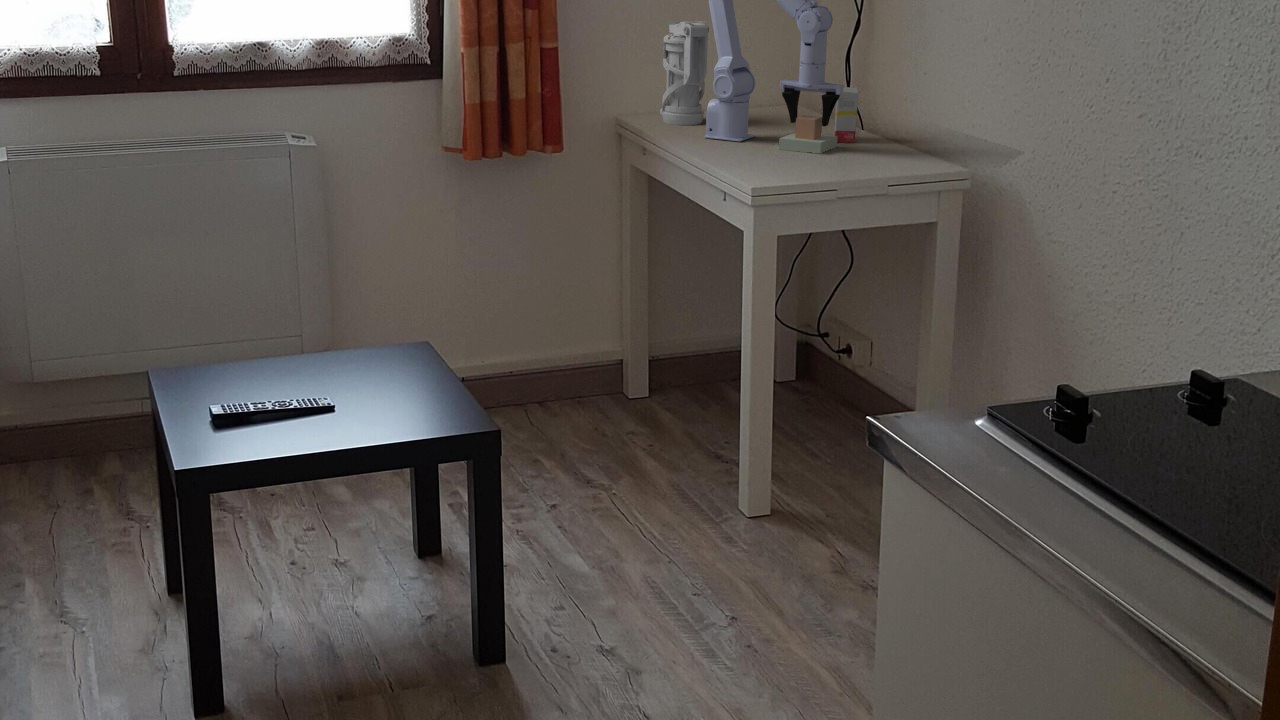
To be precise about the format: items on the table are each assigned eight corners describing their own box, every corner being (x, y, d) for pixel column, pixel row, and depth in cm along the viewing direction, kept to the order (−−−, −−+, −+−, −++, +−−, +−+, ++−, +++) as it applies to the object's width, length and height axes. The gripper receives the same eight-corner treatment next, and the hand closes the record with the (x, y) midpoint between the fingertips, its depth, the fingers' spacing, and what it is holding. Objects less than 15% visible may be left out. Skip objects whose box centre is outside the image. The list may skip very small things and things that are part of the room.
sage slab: (778, 149, 306) (779, 138, 305) (796, 142, 315) (796, 131, 314) (820, 153, 302) (820, 142, 301) (836, 147, 310) (837, 136, 309)
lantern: (655, 119, 342) (656, 18, 334) (692, 117, 346) (694, 17, 338) (677, 128, 331) (679, 23, 323) (715, 125, 335) (718, 21, 327)
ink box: (855, 143, 315) (859, 92, 311) (834, 142, 315) (837, 91, 311) (854, 137, 323) (857, 86, 319) (833, 136, 323) (836, 86, 320)
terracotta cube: (795, 137, 306) (796, 118, 305) (802, 135, 310) (803, 115, 308) (813, 139, 304) (814, 119, 303) (821, 136, 308) (822, 117, 306)
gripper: (775, 62, 302) (772, 123, 306) (836, 67, 295) (832, 129, 300) (788, 59, 308) (785, 119, 312) (848, 63, 301) (844, 125, 306)
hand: (809, 124), depth 306 cm, fingers open, 7 cm apart
